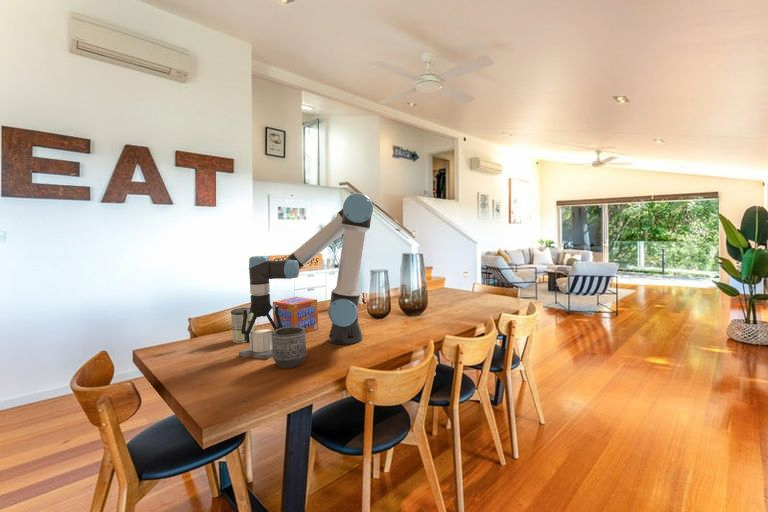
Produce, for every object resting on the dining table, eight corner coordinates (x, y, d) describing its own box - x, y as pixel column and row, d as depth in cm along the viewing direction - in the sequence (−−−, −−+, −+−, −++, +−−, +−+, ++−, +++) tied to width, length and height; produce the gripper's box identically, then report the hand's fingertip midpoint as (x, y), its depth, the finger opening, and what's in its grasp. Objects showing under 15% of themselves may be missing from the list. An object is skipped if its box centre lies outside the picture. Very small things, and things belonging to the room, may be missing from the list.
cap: (277, 346, 155) (277, 330, 154) (264, 353, 147) (263, 335, 146) (261, 345, 158) (260, 328, 157) (247, 351, 150) (246, 334, 149)
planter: (289, 372, 130) (287, 337, 129) (265, 366, 136) (264, 332, 135) (313, 361, 140) (312, 328, 139) (290, 356, 147) (289, 325, 146)
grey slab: (286, 349, 156) (285, 334, 155) (267, 359, 144) (266, 342, 144) (258, 346, 161) (258, 332, 160) (239, 355, 149) (238, 340, 149)
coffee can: (239, 336, 178) (237, 307, 177) (259, 336, 177) (258, 307, 176) (227, 343, 167) (226, 312, 166) (249, 343, 166) (248, 312, 165)
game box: (297, 325, 196) (296, 296, 195) (318, 329, 187) (317, 298, 186) (273, 332, 183) (272, 301, 182) (295, 337, 175) (293, 304, 173)
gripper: (285, 290, 159) (287, 342, 160) (231, 295, 150) (234, 349, 151) (288, 292, 152) (290, 346, 153) (232, 297, 143) (235, 355, 145)
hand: (262, 348), depth 152 cm, fingers closed on cap, 9 cm apart
